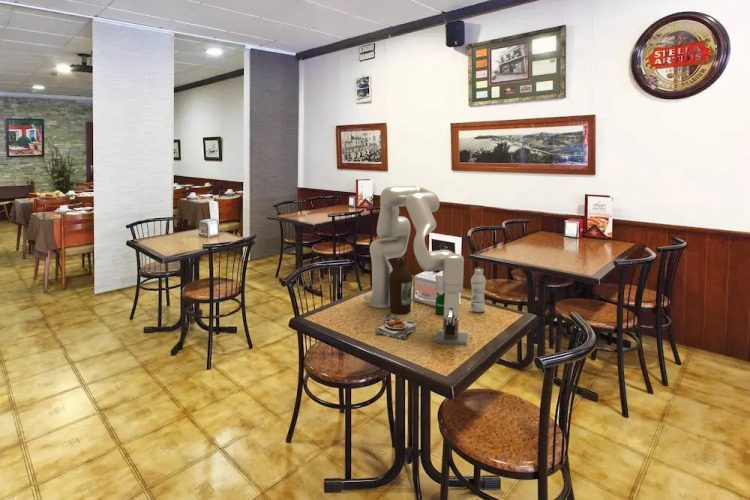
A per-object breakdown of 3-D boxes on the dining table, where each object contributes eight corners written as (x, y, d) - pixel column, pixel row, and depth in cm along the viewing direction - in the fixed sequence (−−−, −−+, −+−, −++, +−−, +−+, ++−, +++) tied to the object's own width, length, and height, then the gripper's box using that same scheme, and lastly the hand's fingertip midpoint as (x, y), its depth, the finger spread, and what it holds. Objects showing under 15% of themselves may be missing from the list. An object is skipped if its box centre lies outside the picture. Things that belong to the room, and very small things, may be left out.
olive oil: (383, 311, 203) (383, 257, 198) (399, 305, 210) (400, 253, 205) (401, 316, 195) (401, 261, 190) (416, 311, 203) (417, 257, 197)
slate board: (434, 342, 168) (434, 339, 168) (436, 333, 177) (436, 330, 177) (466, 345, 165) (466, 342, 165) (467, 336, 174) (467, 333, 174)
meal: (406, 329, 170) (374, 325, 175) (406, 339, 171) (375, 335, 176) (417, 316, 184) (388, 313, 188) (417, 326, 184) (388, 322, 189)
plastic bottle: (486, 314, 198) (488, 270, 194) (471, 314, 198) (472, 270, 194) (483, 309, 204) (485, 266, 200) (468, 309, 204) (470, 266, 200)
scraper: (442, 339, 168) (442, 321, 166) (444, 331, 175) (444, 314, 174) (457, 340, 167) (457, 323, 165) (458, 332, 174) (459, 315, 173)
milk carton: (457, 310, 203) (459, 268, 199) (451, 316, 195) (452, 272, 191) (439, 307, 207) (440, 265, 203) (432, 313, 199) (433, 270, 195)
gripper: (444, 280, 176) (443, 321, 179) (440, 292, 159) (439, 337, 163) (464, 281, 174) (462, 322, 178) (461, 294, 158) (460, 339, 161)
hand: (451, 329), depth 170 cm, fingers open, 9 cm apart
